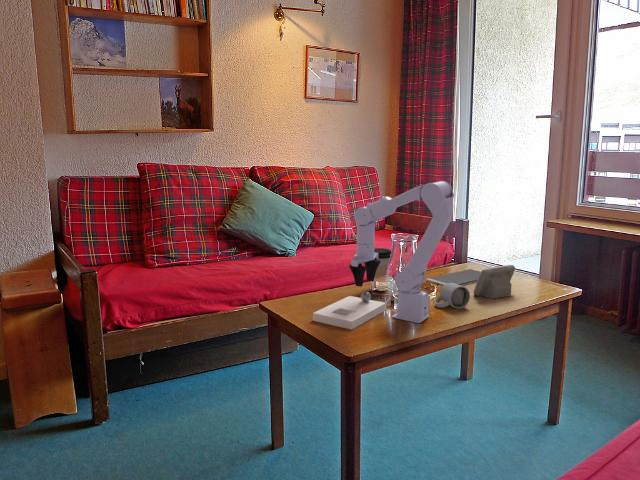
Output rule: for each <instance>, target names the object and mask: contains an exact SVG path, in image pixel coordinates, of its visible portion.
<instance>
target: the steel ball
mask: <svg viewBox="0 0 640 480" xmlns="http://www.w3.org/2000/svg"><path fill="white" fill-rule="evenodd" d="M360 298H361V300H362V301H364V302H368V301H370V300H372V294H371V293H370V292H369V291H365V290H364V291H362V293H361V294H360Z"/></svg>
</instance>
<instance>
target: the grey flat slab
mask: <svg viewBox="0 0 640 480" xmlns="http://www.w3.org/2000/svg"><path fill="white" fill-rule="evenodd" d="M481 271H482V270H481ZM481 271H480V270H476V269H472V268H470V269H465V270H461V271H455V272H451V273H446V274H442V275H437V276H431V277H428V278H425V280H426V282H428V283H431V284H436V285H439V286H441V287H443V286H444V285H445V284H447V283H455V284H458V285H461V286H464V287H465V286H468V285H473V284H476V283H477V281H478V278H479V275H480V273H481Z"/></svg>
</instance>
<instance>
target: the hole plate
mask: <svg viewBox="0 0 640 480" xmlns="http://www.w3.org/2000/svg"><path fill="white" fill-rule="evenodd" d="M386 311H387V302H384V301H379V300H373V299H370V301H368V302H364V301H362V300H361V297H357V296H353V295H348V296H346V297H344V298H343V299H342V298H341V299H340V300H338V301H335V302H334V303H330V304H328V305H327V306H325V307H322V308H320V309H318V310H317V311H314V312H312V321H314V322H317V323H321V324H326V325H330V326H334V327H339V328H343V329H348V330H354V329H356V328H357V327H359V326H361V325H363V324H365V323H366V322H368V321H369V320H371V319H373V318H375V317H376V316H378V315H381V314H382V313H384V312H386Z"/></svg>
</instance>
